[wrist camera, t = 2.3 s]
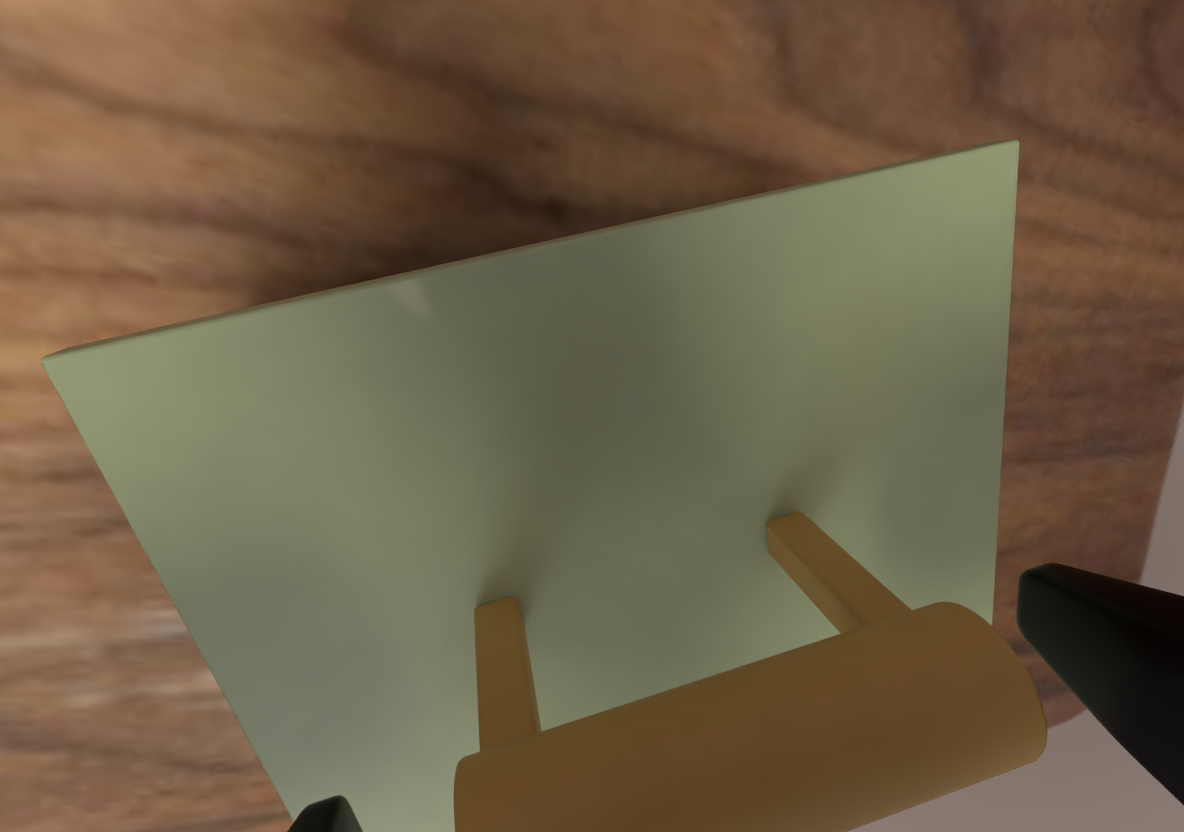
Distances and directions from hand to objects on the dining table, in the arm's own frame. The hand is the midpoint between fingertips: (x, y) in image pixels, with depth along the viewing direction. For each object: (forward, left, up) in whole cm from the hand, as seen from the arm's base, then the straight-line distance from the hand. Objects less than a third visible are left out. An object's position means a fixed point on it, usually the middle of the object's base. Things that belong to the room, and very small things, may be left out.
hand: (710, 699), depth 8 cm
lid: (-1, 0, -3) cm, 4 cm away
